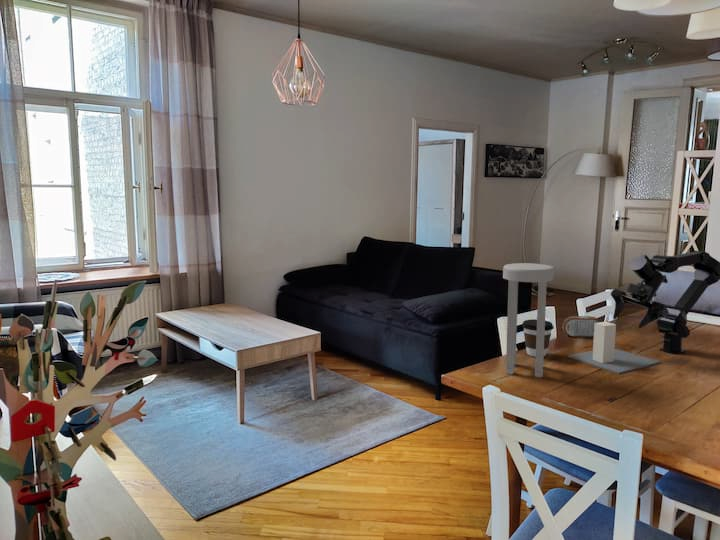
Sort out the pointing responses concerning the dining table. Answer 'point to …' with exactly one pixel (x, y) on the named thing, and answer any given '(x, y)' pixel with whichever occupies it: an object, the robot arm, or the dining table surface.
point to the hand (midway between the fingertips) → (626, 323)
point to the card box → (604, 342)
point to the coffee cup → (531, 333)
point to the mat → (616, 361)
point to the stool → (515, 275)
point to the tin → (579, 326)
